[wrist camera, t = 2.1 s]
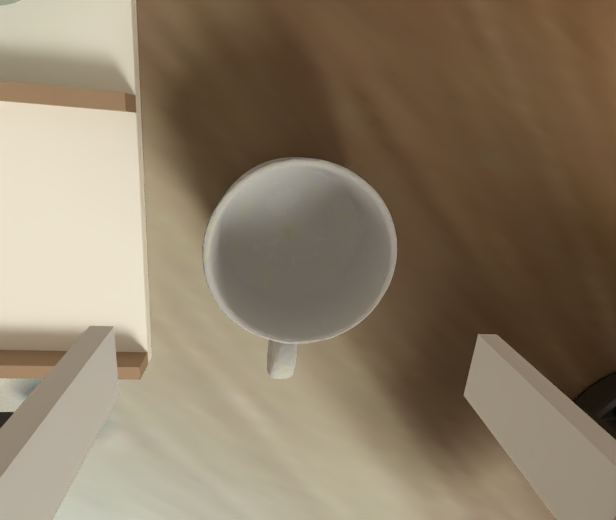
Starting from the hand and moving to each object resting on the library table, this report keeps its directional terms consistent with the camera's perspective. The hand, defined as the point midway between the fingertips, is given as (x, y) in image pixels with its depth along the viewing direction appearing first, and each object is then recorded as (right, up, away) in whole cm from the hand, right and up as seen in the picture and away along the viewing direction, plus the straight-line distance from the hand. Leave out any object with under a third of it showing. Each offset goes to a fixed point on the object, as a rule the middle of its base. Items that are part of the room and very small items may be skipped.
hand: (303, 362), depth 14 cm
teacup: (-1, +5, +15) cm, 16 cm away
